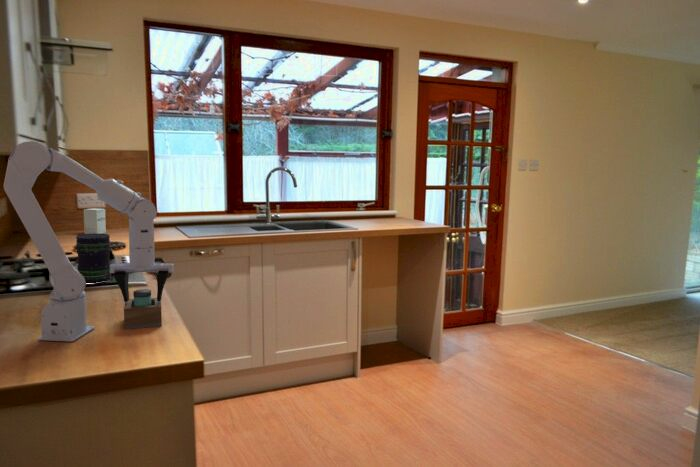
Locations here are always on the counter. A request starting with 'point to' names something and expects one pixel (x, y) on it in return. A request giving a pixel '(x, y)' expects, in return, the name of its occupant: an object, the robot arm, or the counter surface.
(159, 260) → the dark dumbbell
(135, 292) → the peg
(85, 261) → the storage jar
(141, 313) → the socket
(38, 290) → the counter surface
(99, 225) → the supplement box
